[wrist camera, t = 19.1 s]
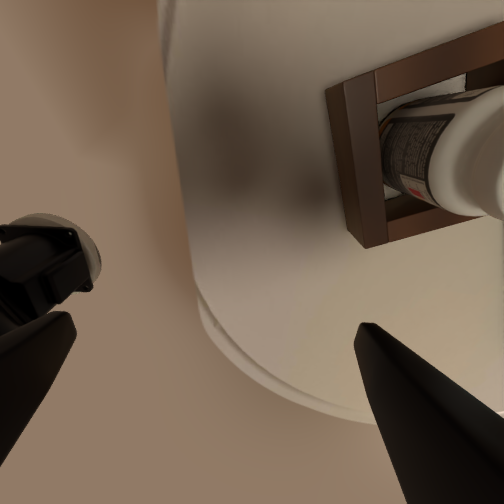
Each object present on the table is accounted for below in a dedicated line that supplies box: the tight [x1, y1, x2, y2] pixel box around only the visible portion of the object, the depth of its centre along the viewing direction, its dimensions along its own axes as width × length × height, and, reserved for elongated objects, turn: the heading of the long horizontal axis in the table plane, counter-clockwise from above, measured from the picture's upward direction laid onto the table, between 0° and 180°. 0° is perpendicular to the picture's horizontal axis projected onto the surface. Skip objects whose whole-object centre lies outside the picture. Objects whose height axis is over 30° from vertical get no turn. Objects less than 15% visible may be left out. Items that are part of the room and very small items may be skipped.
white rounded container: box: [379, 85, 504, 221], centre depth 13 cm, size 6×6×10 cm
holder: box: [325, 21, 504, 249], centre depth 16 cm, size 10×10×4 cm
